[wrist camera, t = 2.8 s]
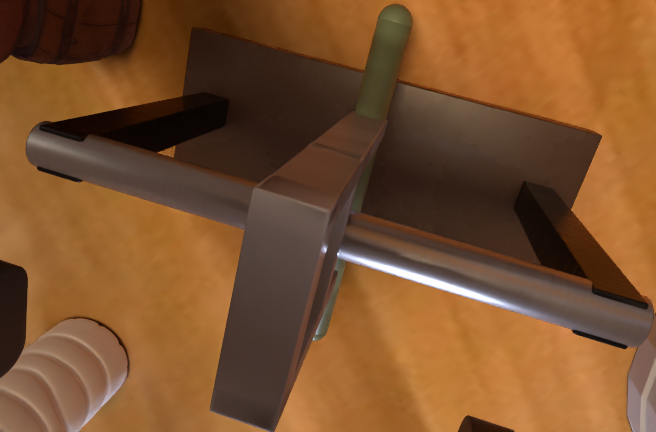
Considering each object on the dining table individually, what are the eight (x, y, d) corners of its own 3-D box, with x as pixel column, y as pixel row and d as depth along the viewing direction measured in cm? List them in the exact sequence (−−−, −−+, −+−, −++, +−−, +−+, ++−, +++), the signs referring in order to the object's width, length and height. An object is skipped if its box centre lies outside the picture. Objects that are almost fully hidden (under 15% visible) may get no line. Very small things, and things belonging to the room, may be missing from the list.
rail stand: (203, 27, 30) (-1, 12, 16) (594, 131, 27) (757, 218, 13) (183, 161, 32) (-5, 248, 18) (537, 265, 30) (624, 452, 16)
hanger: (382, 0, 22) (302, -67, 9) (419, 10, 21) (395, -44, 8) (299, 326, 27) (174, 581, 14) (328, 335, 27) (230, 603, 14)
